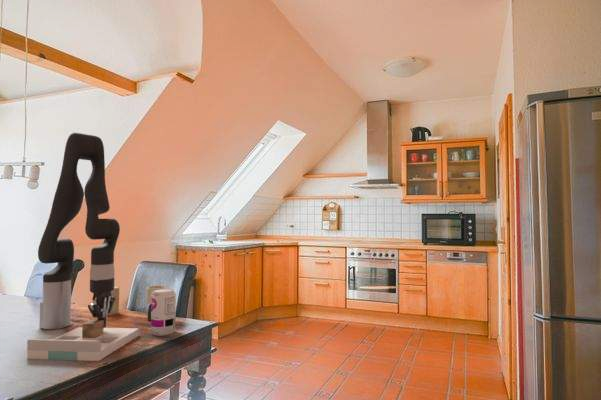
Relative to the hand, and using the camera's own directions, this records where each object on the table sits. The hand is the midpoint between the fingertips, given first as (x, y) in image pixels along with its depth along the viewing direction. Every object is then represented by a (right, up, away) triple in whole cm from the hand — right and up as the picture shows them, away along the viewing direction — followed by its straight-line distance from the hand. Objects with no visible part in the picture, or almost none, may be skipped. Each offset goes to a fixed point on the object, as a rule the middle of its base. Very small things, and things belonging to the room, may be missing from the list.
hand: (101, 328), depth 136 cm
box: (-13, -5, +35) cm, 37 cm away
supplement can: (+19, -4, +7) cm, 20 cm away
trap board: (-1, -3, -8) cm, 8 cm away
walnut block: (-1, -1, -5) cm, 5 cm away
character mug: (+9, -5, +25) cm, 27 cm away
